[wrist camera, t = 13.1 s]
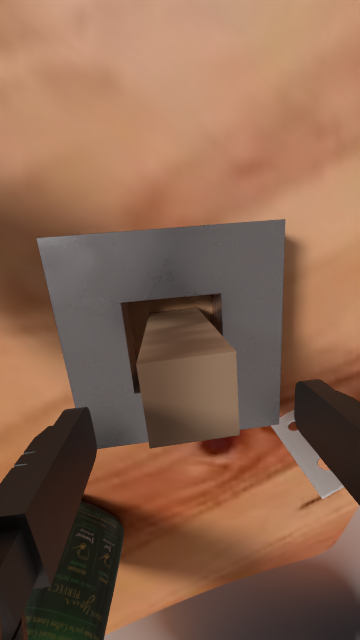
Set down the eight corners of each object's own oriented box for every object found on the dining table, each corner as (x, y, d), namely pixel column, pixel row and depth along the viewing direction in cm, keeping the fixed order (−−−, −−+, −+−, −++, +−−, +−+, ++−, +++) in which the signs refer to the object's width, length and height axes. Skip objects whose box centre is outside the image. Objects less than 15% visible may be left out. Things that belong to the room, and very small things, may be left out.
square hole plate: (264, 227, 17) (285, 219, 14) (262, 402, 21) (279, 424, 18) (58, 243, 16) (36, 238, 13) (96, 424, 20) (85, 450, 17)
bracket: (265, 417, 23) (332, 513, 13) (301, 396, 23) (398, 477, 13) (314, 496, 24) (410, 638, 14) (349, 477, 24) (472, 608, 14)
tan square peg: (196, 307, 18) (236, 351, 9) (200, 351, 19) (239, 435, 10) (149, 312, 18) (136, 364, 8) (155, 356, 19) (149, 448, 9)
